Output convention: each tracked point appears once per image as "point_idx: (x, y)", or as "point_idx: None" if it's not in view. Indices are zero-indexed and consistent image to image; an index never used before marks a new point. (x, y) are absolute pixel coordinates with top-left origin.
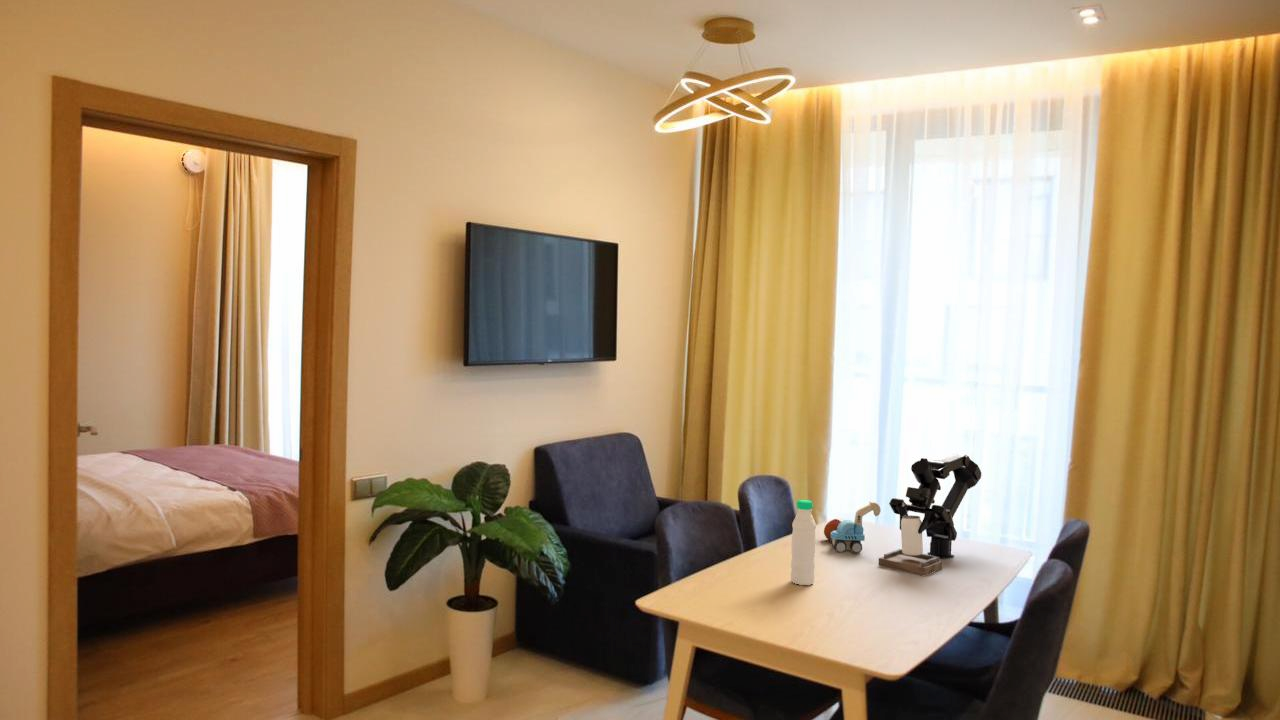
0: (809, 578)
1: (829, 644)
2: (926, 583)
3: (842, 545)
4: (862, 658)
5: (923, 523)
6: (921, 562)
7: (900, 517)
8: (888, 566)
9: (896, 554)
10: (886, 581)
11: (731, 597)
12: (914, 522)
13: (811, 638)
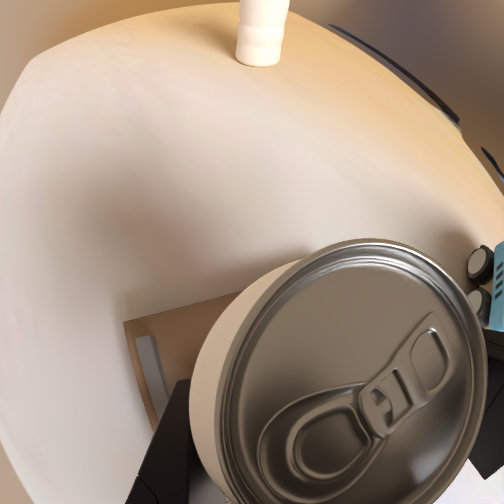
0: (236, 46)
1: (86, 36)
2: (80, 257)
3: (480, 263)
4: (55, 47)
5: (152, 468)
6: (148, 335)
7: (488, 332)
8: None
9: None
10: (166, 166)
11: None
12: (211, 335)
13: (104, 30)
